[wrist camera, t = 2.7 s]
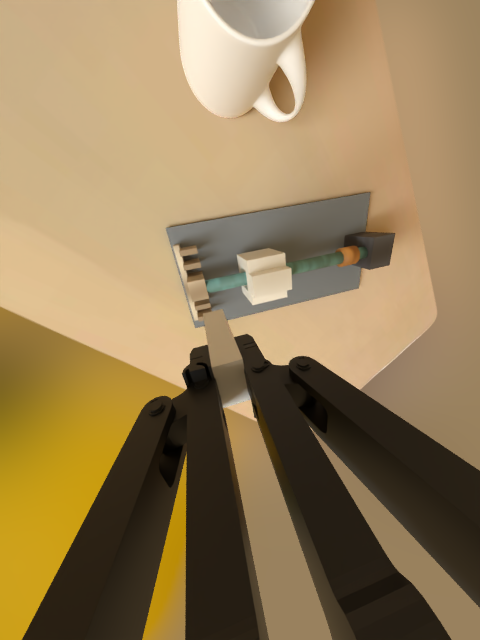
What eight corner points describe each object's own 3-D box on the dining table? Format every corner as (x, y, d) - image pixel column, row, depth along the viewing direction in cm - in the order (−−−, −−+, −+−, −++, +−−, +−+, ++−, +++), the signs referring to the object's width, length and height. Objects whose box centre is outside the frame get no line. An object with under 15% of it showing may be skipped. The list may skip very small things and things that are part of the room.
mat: (166, 227, 25) (165, 228, 24) (366, 192, 28) (370, 192, 28) (195, 326, 31) (195, 328, 31) (356, 287, 35) (358, 288, 34)
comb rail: (174, 244, 26) (170, 249, 20) (362, 209, 29) (400, 206, 24) (194, 314, 30) (195, 333, 25) (354, 276, 34) (385, 286, 29)
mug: (248, 169, 24) (286, 134, 15) (160, 56, 19) (132, -112, 9) (300, 104, 23) (380, 20, 13) (220, -39, 17) (259, -348, 8)
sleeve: (236, 254, 26) (250, 263, 20) (268, 247, 27) (290, 254, 21) (242, 292, 29) (256, 309, 23) (271, 285, 29) (292, 300, 23)
